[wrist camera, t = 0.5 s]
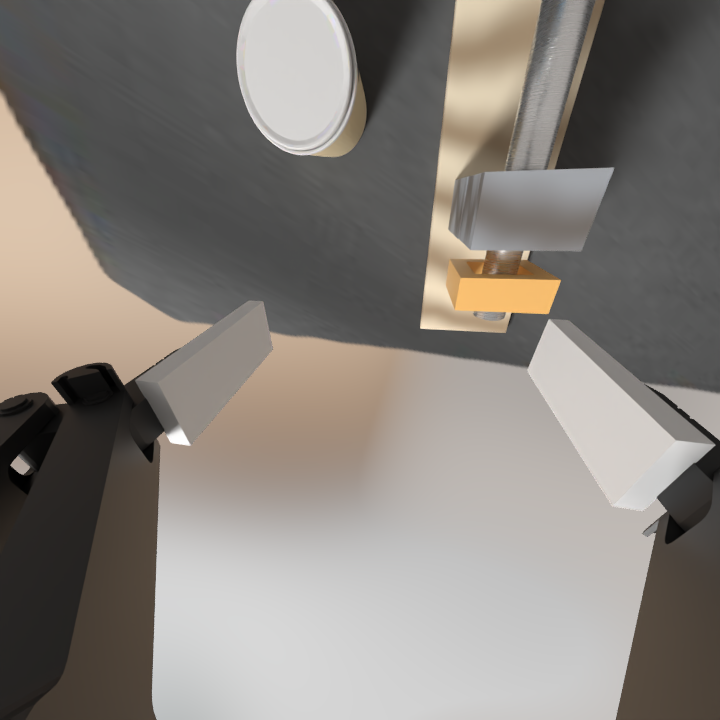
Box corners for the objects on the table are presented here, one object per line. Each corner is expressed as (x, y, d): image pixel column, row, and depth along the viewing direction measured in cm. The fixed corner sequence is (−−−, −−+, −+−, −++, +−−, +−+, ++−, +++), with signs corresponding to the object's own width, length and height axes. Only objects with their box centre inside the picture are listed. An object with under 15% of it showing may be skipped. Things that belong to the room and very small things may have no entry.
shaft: (553, -159, 15) (598, -272, 11) (641, -176, 14) (720, -302, 11) (462, 306, 30) (470, 322, 26) (504, 307, 29) (518, 324, 25)
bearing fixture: (455, 1, 24) (506, -217, 11) (604, -18, 22) (866, -302, 9) (420, 325, 41) (424, 385, 28) (503, 329, 39) (547, 395, 26)
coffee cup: (390, 84, 28) (378, 23, 18) (351, 181, 33) (325, 176, 23) (309, 30, 27) (246, -68, 16) (282, 139, 32) (222, 115, 22)
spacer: (449, 258, 30) (460, 277, 23) (526, 259, 29) (561, 280, 22) (445, 285, 32) (454, 310, 25) (517, 287, 30) (548, 313, 24)
